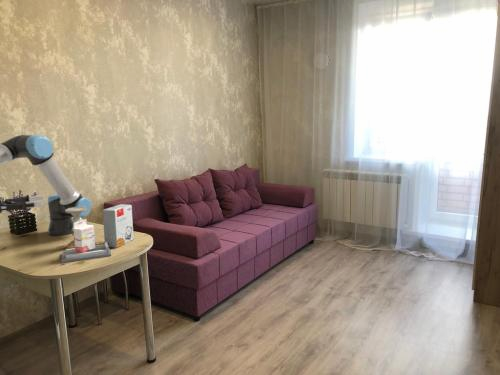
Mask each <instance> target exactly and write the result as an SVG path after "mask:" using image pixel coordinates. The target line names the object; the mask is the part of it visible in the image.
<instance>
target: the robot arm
mask: <svg viewBox="0 0 500 375" xmlns="http://www.w3.org/2000/svg"><path fill="white" fill-rule="evenodd" d="M53 148H54V144H53V143H52V141H51V140H50V139H49V138H48V137H46V136H44V135H41V134H40V135H39V134H32V135H31V134H30V135H29V134H28V135H26V134H19V135H16V136H13V137H11V138H10V139H7V140H6V141H5V140H4V141H3V142H2V143H0V165H2V164H3V163H6V162H12V161H14V160H15V159H22V158H25V159H27V160H28V161H29V162H30V163H31V165H32V166H34V167H35V166H36V167H37V168H38V169H39V170H40V172H41V173H42V175H43V177H44V178H45V179H46V180H47V181H48V183H49V185H50V186H51V188H52V189H53V190H54V191H55V193H56V194H52V195H49V196H48V197H47V205H48V213H49V225H48V229H47V233H48V234H47V235H49V236H53V237H54V236H56V237H57V236H66V235H72V234H73V232H74V231H73V230H72V227H73V221H72V219H73V215H71V213H66V212H65V210H66V209H68V208H73V207H86V208H87V210H86V211H84V212H82V213H81V215H80V217H81V218H82V219H83V218H85V217H87V216H88V215H89V213H90V211H91V207H92V203H91V201H90V199H89V198H87V197H83V195H82V194H81V193H80V191H79V190H76V189H74V187H73V186H72V184H71V182H70V181H69V179H68V178H67V176H66V175H65V174H64V172H63V171H62V169H61V167H60V166H59V165H58V163H57V162H56V160H55V159H54V152H53V151H54V149H53ZM45 201H46V200H45V195H44V194H42V195H32V196H30V195H29V194H26V195H25V196H19V197H14V198H5V199H4V200H2V198H1V197H0V214H1V213H3V212H4V211H27V209H34V208H35V209H36V208H43V207H44V203H43V202H45Z"/></svg>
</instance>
